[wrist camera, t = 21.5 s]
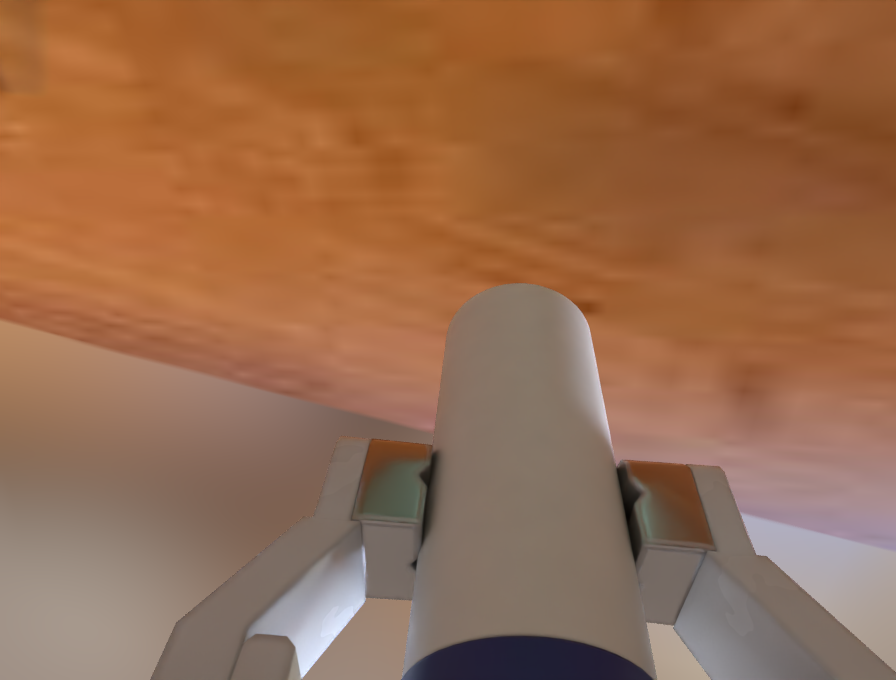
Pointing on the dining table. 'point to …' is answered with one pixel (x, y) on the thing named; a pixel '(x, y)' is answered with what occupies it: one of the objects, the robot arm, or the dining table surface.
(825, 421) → the dining table surface
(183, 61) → the dining table surface
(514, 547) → the glue stick
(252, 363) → the dining table surface
